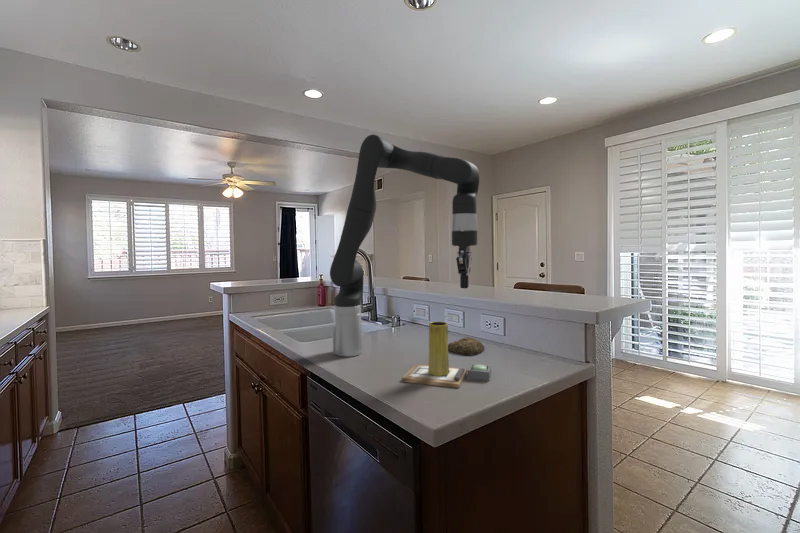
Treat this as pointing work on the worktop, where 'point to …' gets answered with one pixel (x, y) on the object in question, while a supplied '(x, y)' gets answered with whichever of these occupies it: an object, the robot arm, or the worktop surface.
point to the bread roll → (466, 346)
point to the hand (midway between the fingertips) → (464, 288)
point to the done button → (479, 367)
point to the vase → (438, 349)
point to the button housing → (479, 373)
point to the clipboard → (423, 377)
